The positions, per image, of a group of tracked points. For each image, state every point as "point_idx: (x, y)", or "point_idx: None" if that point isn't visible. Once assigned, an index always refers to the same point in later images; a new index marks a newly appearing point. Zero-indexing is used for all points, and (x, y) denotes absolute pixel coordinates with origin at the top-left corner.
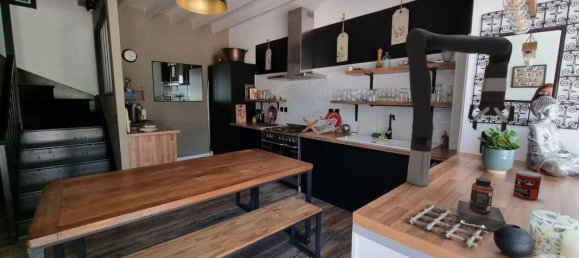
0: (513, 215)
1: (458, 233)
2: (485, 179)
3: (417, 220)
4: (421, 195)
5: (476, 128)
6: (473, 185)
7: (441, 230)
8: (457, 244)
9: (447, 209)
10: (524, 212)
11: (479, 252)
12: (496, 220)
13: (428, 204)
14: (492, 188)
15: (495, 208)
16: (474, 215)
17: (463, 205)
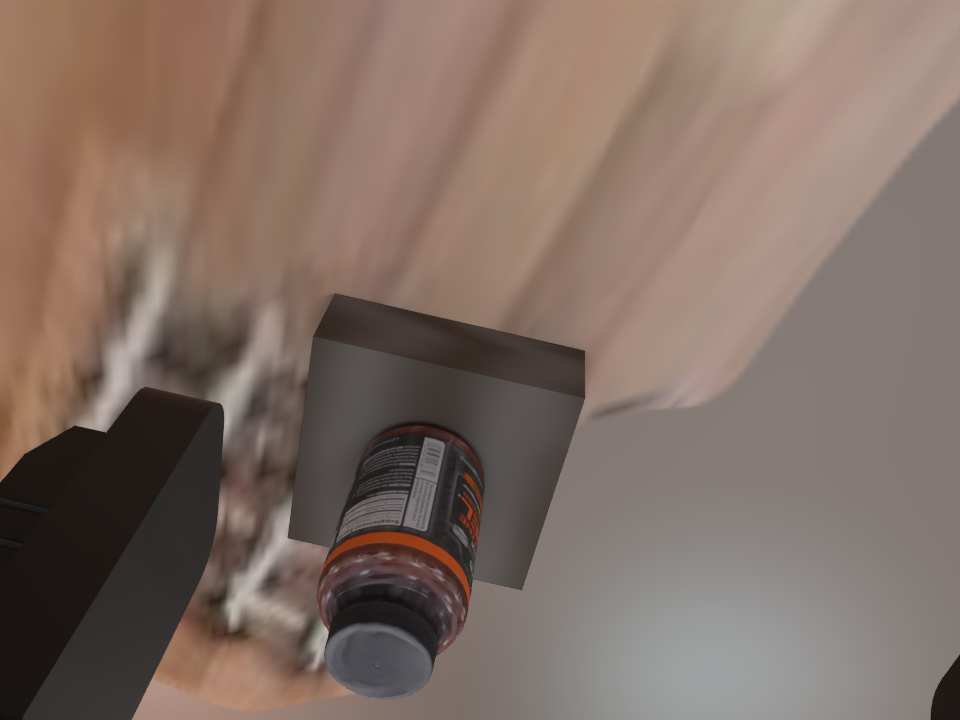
0: (751, 247)
1: (287, 586)
2: (390, 670)
3: None
4: (53, 56)
5: (185, 604)
6: (320, 613)
7: (208, 581)
8: (268, 666)
9: (263, 306)
10: (905, 142)
11: (346, 694)
12: (477, 579)
13: (128, 260)
14: (449, 644)
15: (554, 410)
16: None
17: (330, 427)
